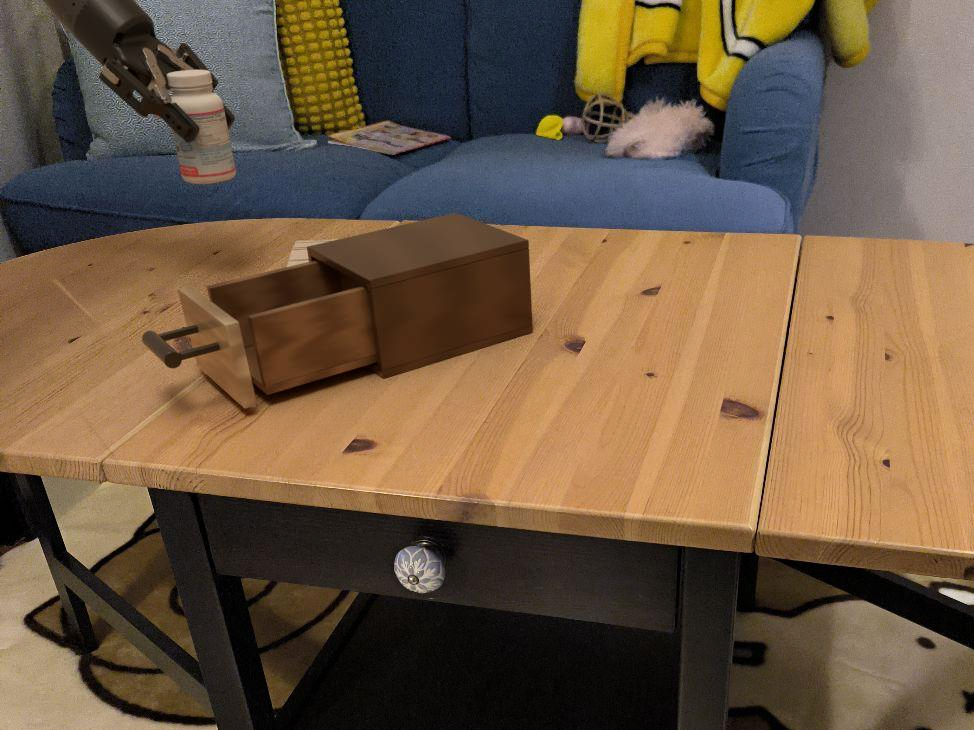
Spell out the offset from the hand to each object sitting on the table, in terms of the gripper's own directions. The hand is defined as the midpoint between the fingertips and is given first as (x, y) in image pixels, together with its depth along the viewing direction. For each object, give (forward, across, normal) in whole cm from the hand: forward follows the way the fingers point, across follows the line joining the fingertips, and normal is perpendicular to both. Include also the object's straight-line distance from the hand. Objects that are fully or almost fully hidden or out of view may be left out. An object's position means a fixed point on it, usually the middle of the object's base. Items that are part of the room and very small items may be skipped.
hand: (212, 130), depth 109 cm
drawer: (+26, -25, -3) cm, 36 cm away
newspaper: (+21, +10, +3) cm, 24 cm away
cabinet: (+33, -11, -9) cm, 36 cm away
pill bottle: (+3, 0, +5) cm, 6 cm away
